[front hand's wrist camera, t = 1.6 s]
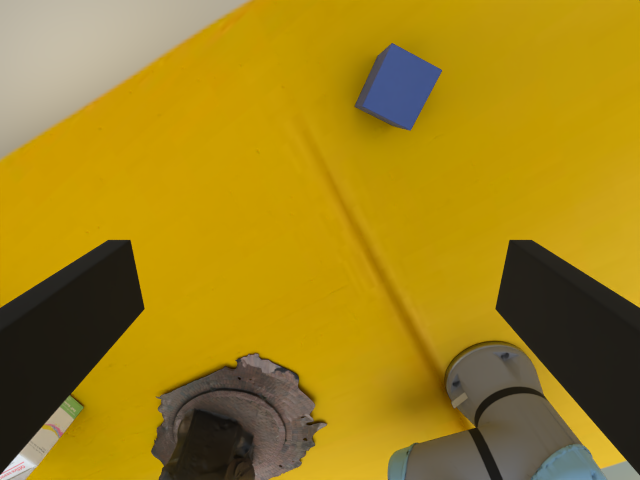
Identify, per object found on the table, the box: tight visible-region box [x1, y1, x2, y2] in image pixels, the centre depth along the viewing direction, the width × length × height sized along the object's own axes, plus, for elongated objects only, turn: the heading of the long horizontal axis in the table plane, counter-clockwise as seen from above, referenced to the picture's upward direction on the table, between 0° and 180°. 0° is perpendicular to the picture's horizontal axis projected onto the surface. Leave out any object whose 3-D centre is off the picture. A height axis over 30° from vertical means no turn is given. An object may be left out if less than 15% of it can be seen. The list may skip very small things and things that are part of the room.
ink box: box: [0, 395, 84, 480], centre depth 59 cm, size 9×5×15 cm, turn 121°
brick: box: [355, 43, 442, 130], centre depth 42 cm, size 6×7×9 cm
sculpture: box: [151, 354, 327, 480], centre depth 60 cm, size 33×35×16 cm
